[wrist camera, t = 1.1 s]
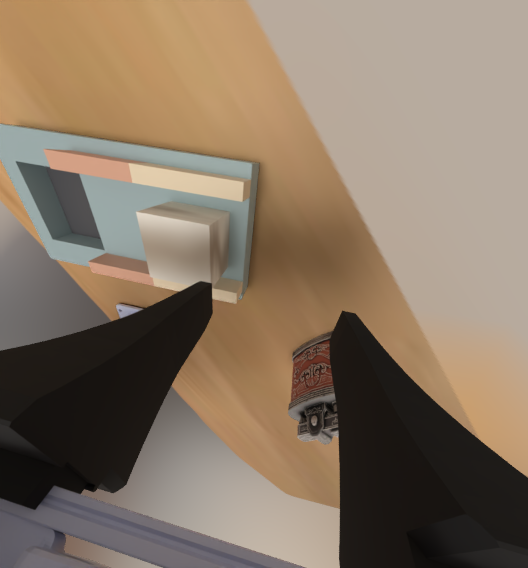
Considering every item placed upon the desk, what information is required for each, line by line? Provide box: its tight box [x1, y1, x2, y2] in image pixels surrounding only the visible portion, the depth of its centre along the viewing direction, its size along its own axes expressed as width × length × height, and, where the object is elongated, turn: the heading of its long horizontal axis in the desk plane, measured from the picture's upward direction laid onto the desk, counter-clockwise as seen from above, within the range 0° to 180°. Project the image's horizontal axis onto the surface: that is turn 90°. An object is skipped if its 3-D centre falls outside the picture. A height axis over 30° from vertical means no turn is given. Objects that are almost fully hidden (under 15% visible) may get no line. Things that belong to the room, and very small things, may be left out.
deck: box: [0, 123, 260, 304], centre depth 18 cm, size 12×22×4 cm, turn 83°
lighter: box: [288, 331, 339, 444], centre depth 21 cm, size 8×3×10 cm, turn 137°
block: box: [136, 201, 230, 288], centre depth 16 cm, size 5×5×4 cm
